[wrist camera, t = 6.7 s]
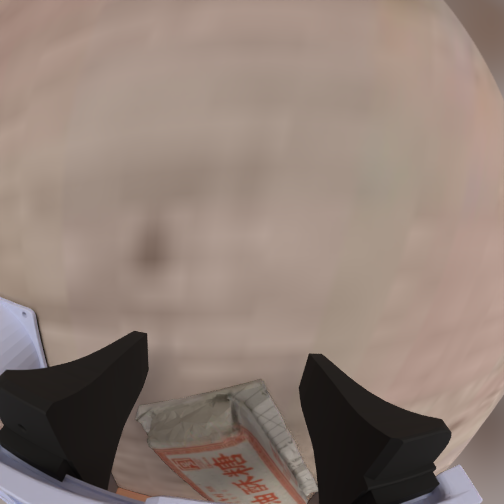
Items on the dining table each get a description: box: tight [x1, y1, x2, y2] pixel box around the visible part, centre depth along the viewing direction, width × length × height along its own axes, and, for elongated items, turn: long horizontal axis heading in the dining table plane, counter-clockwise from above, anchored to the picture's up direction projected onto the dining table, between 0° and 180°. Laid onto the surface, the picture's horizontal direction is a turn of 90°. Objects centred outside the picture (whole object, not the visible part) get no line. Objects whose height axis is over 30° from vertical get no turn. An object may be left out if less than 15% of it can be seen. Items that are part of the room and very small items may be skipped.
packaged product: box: [135, 379, 318, 504], centre depth 16 cm, size 18×5×10 cm
